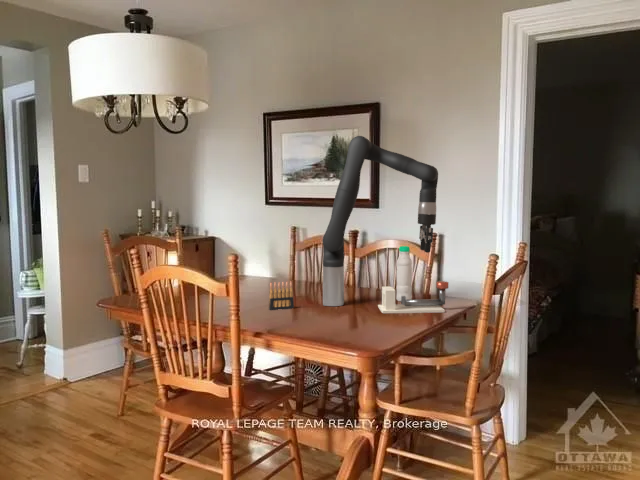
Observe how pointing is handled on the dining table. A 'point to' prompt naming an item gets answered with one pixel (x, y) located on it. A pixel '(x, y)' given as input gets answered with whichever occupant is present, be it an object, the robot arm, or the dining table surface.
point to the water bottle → (404, 274)
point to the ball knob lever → (428, 302)
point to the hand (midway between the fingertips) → (425, 251)
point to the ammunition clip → (281, 297)
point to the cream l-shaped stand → (391, 307)
